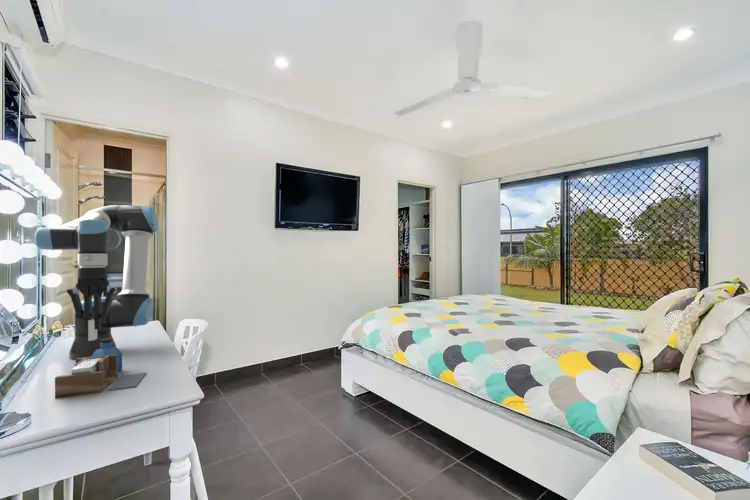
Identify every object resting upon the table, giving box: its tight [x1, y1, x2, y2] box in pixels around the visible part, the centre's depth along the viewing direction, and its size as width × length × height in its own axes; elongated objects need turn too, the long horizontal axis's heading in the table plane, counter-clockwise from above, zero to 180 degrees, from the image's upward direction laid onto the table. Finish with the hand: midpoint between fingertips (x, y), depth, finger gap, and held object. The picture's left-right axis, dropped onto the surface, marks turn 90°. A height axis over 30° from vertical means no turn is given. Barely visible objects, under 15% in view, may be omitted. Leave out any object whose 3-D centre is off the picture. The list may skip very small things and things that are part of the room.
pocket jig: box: [54, 354, 119, 399], centre depth 108 cm, size 14×11×8 cm
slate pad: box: [107, 372, 147, 391], centre depth 111 cm, size 13×7×1 cm, turn 21°
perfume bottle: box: [91, 338, 123, 373], centre depth 120 cm, size 6×6×12 cm
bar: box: [71, 358, 103, 375], centre depth 107 cm, size 10×5×4 cm, turn 21°
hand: (92, 339), depth 111 cm, fingers closed
